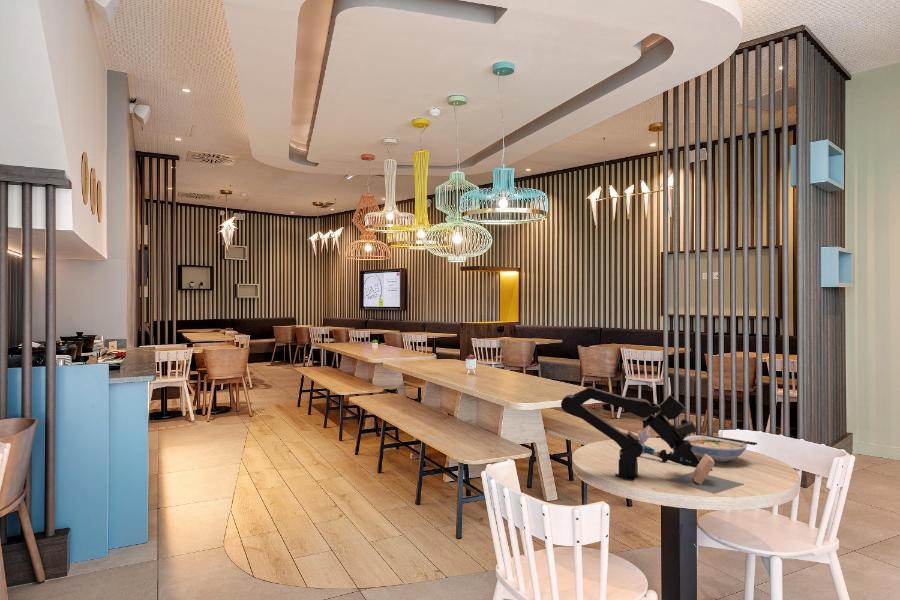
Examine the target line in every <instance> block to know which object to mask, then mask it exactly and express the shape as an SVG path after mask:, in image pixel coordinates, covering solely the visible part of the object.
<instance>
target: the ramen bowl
mask: <svg viewBox="0 0 900 600" xmlns="http://www.w3.org/2000/svg"><path fill="white" fill-rule="evenodd" d="M692 434H693V435H689V436H688V435H687V436H686V438H684V439H683V440H689V442H690V443H691V445H692V448H691V450H692V452H693V453H694V454H695V456H698V457H700V458H701V459H702V458H703V456H704V454H707V455H709V456H710V457H711V458H712V459H713V461H714V462H715V463H718V462H722V463H725V462H728V461H732V460H736V459H737V458H739V457H740V456H741V455H742V454H743V453H744V452H745V451H746V449H747V447H748V445H752V446H756V445H758V442H754V441H750V440H749V441H748V440H740V439H735V438H730V437H725V436H716V435H708V434H703V433H702V434H701V433H697V432H695V433H692Z"/></svg>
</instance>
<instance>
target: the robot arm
mask: <svg viewBox="0 0 900 600" xmlns="http://www.w3.org/2000/svg"><path fill="white" fill-rule="evenodd" d="M590 400H594V401H598V402H601V403H605V404H608V405H612V406H614V407H617V408H621V409H624V410H626V411H628V412H629V413H631V414H633V415H635V416H637V417H639V418H643V419H641V422H642V429H646V428H647V427H648V426H649V427H650V429H652V430H653V431H654V432H655V433H656V434H657V435H658V436H659V438H660V439H661V440H662V441H664V442H665V443H666V444H667V445H668V447H669V448H670V449H672V452H673V453H674V455H675V456H676V457H677V458H678V459H680V458H681V457H682V458H685V459H687V460H689V461H691V462H694V463H696V464H698V463H700V460H699V459H698V457H697V455H696V454H694V453H693V452H692V450H691V448H692V445H691V443H690V442H689V440H684V438H686V437H687V436H688V435H690V434H693V433H697V431H698V430H697V427H696V426H695V424H694V422H693V421H692V420H687V419H686V418H682V419H681V420H680V424H678V425H677V426H675V425H674V424H673V423H671V422H669V420H675V419H677V418H678V417H679V416H680V415H681V414H682V413H684V411H685V410H686V407H685V406H684V405H683V404H682V403H681V402H680V401H679V400H677V399H675V398H674V396H672V395H671V394H669V395H668V396H667V397H666V398H665V400H663V401H662V402H661V403H659V404H658V403H653V402H649V400H647V399H645V398H640V397H639V398H638V397H628V396H622V395H619V394H615V393H613V392H608V391H606V390H602V389H598V388H595V387H594V386H587V387H586V388H584V389H582V390H580V391H579V392H576V393H575V394H574V393H573V394H567V395H564V397H563V399H562V400H561V402H560V403H561V404H560V406H561V409H562V411H563V412H565V413H567V414H569V415H572V416H573V417H576V418H578V419H582V420H583V421H584V422H586V423H588V424H589V425H590V426H592V427H593V428H595V429H596V430H597V431H600V432H601V433H602V434H603V435H605V436H606V437H608V438H610V439H611V440H613V441H614V442H615V443H616V444H617V445H618V446H619V448H620V449H619V454H618V455H619V458H618V473H615V474H614V475H615V477H617V478H620V479H624V480H626V481H632V480H635V479H638V478H641V477H642V476H641V475H639V473H638V471H639V469H638V468H639V464H638V458H639V457H640V456H642V454H643V453H644V452H643V447H642V443H641V441H640V440H639V436H638V435H634V434H633V432H631V431H630V430H628V431H627V432H623V431H621V430H619V429H618V428H616V427H615V426H613V425H612V424H610V423H609V422H607V421H606V420H605V419H603V418H602V417H600V416H599V415H597V414H596V413H594V412H593V411H592V410H590V409H588V408H587V407H586V406H585V403H586V402H588V401H590ZM665 417H666V418H665ZM645 418H646V419H645ZM667 419H668V420H667Z"/></svg>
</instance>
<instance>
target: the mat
mask: <svg viewBox="0 0 900 600" xmlns="http://www.w3.org/2000/svg"><path fill="white" fill-rule="evenodd" d="M693 472H694V471H692V472H688V473H684V474H681V475H676V476H674V477H669V478H665V479H664V480H666V481H669V482H673V483H676V484H679V485H682V486H686V487H688V488H689V487H690V488H692V489H697V490H700V491H702V492H703V491H704V492H707V493H711V494H718V493H722V492H724V491H728V490H730V489H731V490H732V489H735V488H738V487H740V486H744V485H745V483H741V482H737V481H733V480H729V479H726V478H723V477H722V478H721V477H718V476H715V475H710V474H708V475H707V477H706V478H705V480H704V482H703V483H702V485H700V484H698V483H696V482H695V481H694V479H693V477H692V473H693Z"/></svg>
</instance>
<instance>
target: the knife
mask: <svg viewBox="0 0 900 600" xmlns="http://www.w3.org/2000/svg"><path fill="white" fill-rule="evenodd" d="M642 447H643V452H642V453H644V454H647V455H651V456H654V457H656V458H659V459H661V460H662V463H667V462H668V461H670V462H672V463H675V464H678V465H681V466H684V467H692V468H695V469H696V467H697V466H698V464H699V463H698V464H696V463H694V462H691V461H689V460H687V459H685V458H682V457H681V458H680V459H678V458H677V457H676V456H675V455H674V453H673V451H670V452H669V453H667V450H666V449H661V450H660V451H659V450H657V449H655V448H653V447H650V446H648V445H646V444H645V443H643V444H642ZM713 470H714V469H713V468H712V469H711V471H710V472H713Z"/></svg>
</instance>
